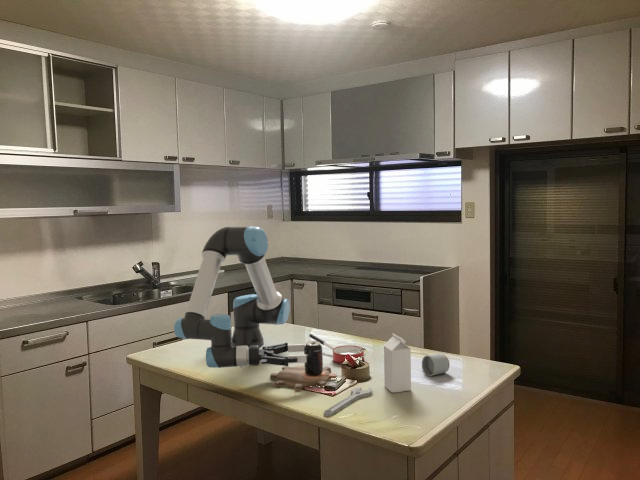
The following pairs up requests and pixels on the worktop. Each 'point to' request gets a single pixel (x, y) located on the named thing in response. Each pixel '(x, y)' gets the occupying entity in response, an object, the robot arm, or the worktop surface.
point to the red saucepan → (342, 350)
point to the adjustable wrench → (348, 400)
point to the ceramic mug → (435, 364)
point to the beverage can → (313, 358)
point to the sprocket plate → (300, 377)
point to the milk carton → (397, 365)
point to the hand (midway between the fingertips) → (305, 352)
